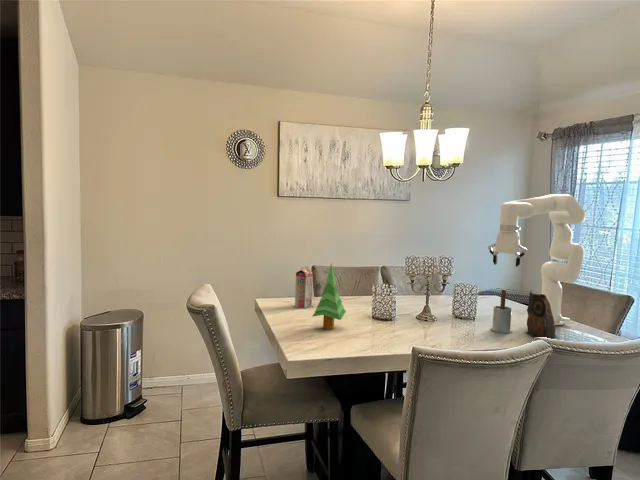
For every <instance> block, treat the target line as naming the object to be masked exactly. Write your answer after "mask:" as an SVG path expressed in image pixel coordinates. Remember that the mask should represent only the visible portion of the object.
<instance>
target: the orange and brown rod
mask: <svg viewBox="0 0 640 480" xmlns="http://www.w3.org/2000/svg"><path fill="white" fill-rule="evenodd" d="M500 293H501V294H500V305H499V306H500V309H505V307H506V297H507V289H505V288H501V292H500Z"/></svg>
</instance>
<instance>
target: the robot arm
mask: <svg viewBox="0 0 640 480" xmlns="http://www.w3.org/2000/svg"><path fill="white" fill-rule="evenodd" d="M547 213H548V216H549V220H550V222H551V224H552V226H553V236H552V241H551V244H550V248H549V257H550V258H551V259H552V260H557V261H545V262H544V263H543V264H542V265H541V267H540V273H541V294H544V295H545V296H546V298H547V299H548V301H549V303H550V306H551V311H552V314H553V318H554V323H555V326H563V325H564V322H566V323H571V318H569V317H564V316H563V315H562V300H563V287H562V284H561V283H567V284H574V283H576V282H577V280H578V279H579V276H580V274H581V270H582V265H583V262H584V258H585V248H584V247H583V245H581V244H580V243H577V242H572V241H573V240H572V239H573V236H574V235H573V231H572V228H571V227H570V225H581V224H582V223H584V222H585V220H586V212H585V209H584V208H583V206H581V204H580V203H579V201H578V200H577V199H576V198H575V197H574V196H572V194H571V195H570V194H568V193H567V194H566V193H561V194H560V193H559V194H557V193H554V194H553V193H552V194H546V195H543V196H542V195H541V196H538V197H530V198H524V199H517V200H511V201H507V202H502V203H501V205H500V216H499V217H500V218H499V231H497V235H496V238H495V239H496V240H495V243H493V244H491V245H488V246H487V250H488V252H489V253H490V254H491V256H492V264H493V265H494V266H495V265H498V254H510V255H511V254H512V255H515V256H516V258H515V267H516V268H517V267H519V266H520V265H521V258H522V257H524V256H525V255H526V253H527V252H528V249H527V248H526V247H525V246H523V245H521V241H520V240H521V239H520V232H519V231H521V230H522V228H521V226H519V225H518V223H519V219H529V218H531V217H532V216H539V215H545V214H547ZM493 248H494V250H495V251H494V250H493ZM520 250H522V252H521V253H520ZM558 261H562V262H558ZM563 261H564V262H563ZM565 262H567V263H565Z"/></svg>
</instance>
